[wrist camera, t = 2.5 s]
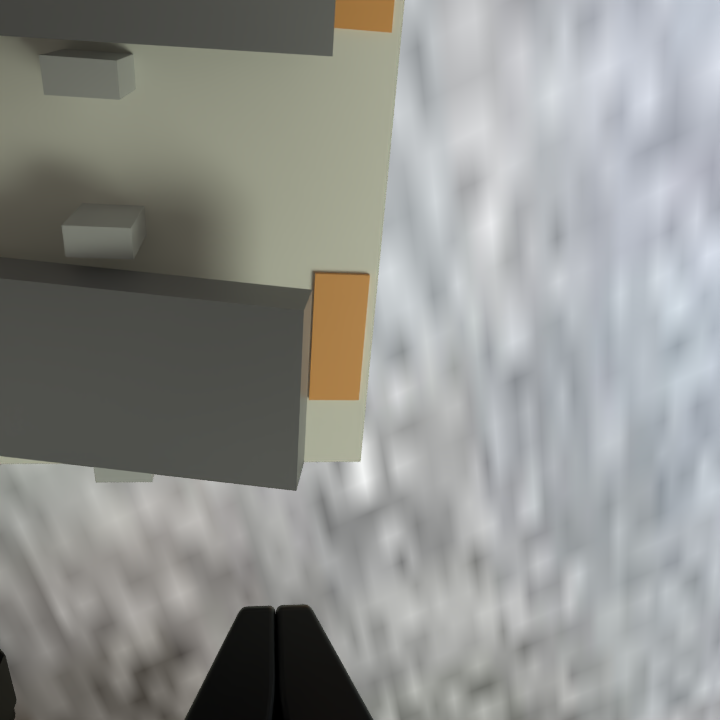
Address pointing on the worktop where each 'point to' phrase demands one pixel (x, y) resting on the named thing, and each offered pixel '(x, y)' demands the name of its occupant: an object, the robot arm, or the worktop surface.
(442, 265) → the worktop surface
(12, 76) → the switch panel
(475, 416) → the worktop surface
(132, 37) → the block
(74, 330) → the block
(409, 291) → the worktop surface
